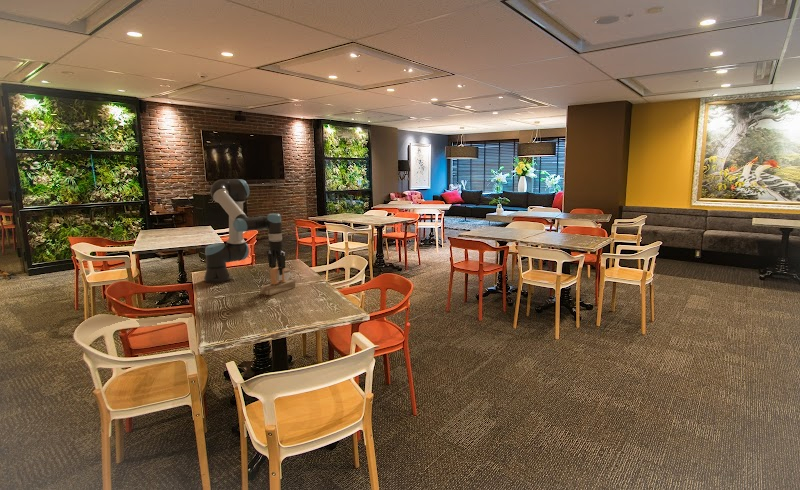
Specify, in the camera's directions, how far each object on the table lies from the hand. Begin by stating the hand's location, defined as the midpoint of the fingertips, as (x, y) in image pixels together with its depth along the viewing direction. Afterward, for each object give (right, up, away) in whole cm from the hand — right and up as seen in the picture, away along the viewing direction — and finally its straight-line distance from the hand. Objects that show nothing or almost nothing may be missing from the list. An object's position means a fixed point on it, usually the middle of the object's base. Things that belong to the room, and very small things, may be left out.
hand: (277, 279), depth 250 cm
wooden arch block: (0, -2, 0) cm, 2 cm away
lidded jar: (-3, -3, +21) cm, 22 cm away
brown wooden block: (0, -6, +1) cm, 6 cm away
